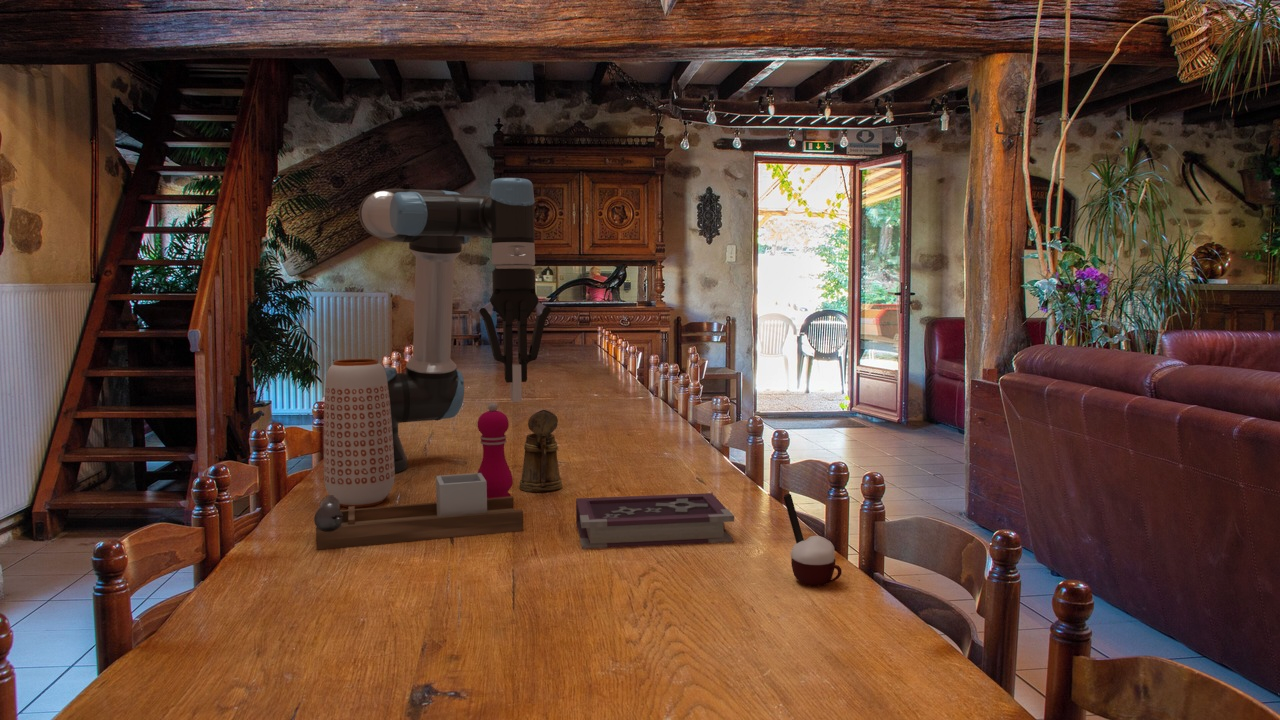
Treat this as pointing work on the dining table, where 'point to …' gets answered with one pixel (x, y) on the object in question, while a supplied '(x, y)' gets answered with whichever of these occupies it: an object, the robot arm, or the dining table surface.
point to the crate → (461, 494)
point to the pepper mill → (494, 452)
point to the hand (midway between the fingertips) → (516, 400)
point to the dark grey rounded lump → (328, 514)
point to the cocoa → (810, 554)
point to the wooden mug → (541, 455)
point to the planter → (358, 433)
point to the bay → (417, 524)
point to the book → (651, 520)
